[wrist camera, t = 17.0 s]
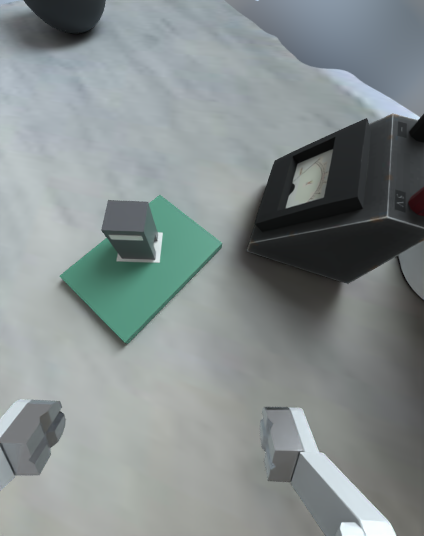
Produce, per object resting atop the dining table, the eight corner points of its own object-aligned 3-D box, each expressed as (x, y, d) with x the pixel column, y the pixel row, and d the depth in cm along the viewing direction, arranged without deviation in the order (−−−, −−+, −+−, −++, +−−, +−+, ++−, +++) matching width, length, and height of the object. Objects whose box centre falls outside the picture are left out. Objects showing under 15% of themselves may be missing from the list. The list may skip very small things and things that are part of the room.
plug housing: (158, 234, 38) (148, 201, 30) (155, 260, 36) (143, 232, 28) (126, 233, 37) (108, 200, 30) (121, 259, 36) (101, 230, 28)
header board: (161, 200, 42) (159, 194, 41) (221, 247, 39) (222, 242, 38) (64, 279, 36) (59, 275, 34) (127, 343, 33) (124, 342, 31)
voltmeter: (266, 182, 45) (312, 53, 27) (352, 207, 44) (464, 90, 25) (243, 254, 39) (281, 151, 20) (342, 286, 37) (481, 207, 19)
